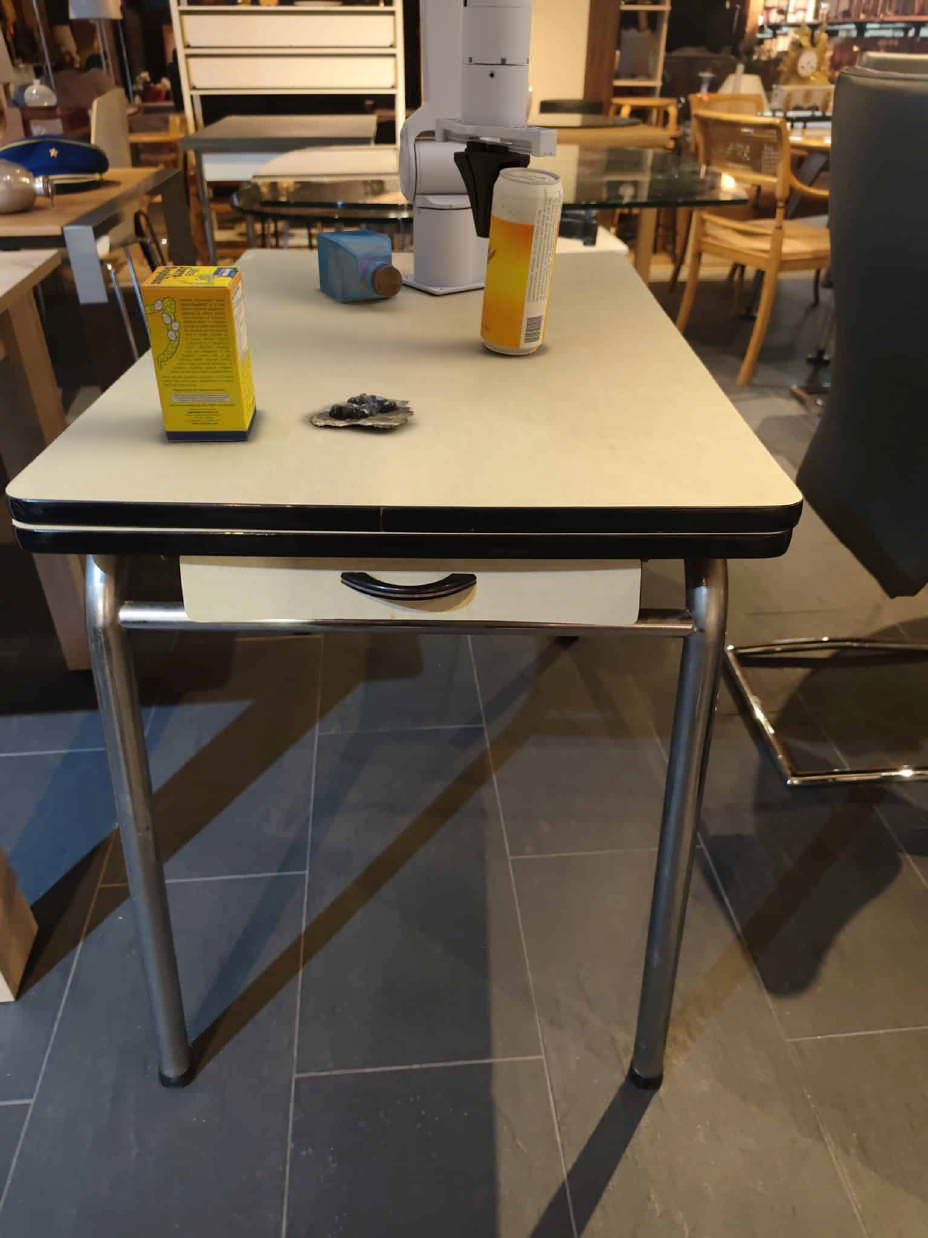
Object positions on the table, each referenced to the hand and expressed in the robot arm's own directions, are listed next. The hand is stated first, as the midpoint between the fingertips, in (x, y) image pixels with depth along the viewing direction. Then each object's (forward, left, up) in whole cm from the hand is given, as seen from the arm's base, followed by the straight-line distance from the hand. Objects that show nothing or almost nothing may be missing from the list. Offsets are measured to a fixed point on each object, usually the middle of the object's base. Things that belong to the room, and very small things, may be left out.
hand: (489, 236), depth 82 cm
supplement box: (+32, +7, -10) cm, 34 cm away
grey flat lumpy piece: (+22, +12, -10) cm, 27 cm away
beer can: (0, +4, -9) cm, 10 cm away
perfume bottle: (+1, -26, -6) cm, 26 cm away
